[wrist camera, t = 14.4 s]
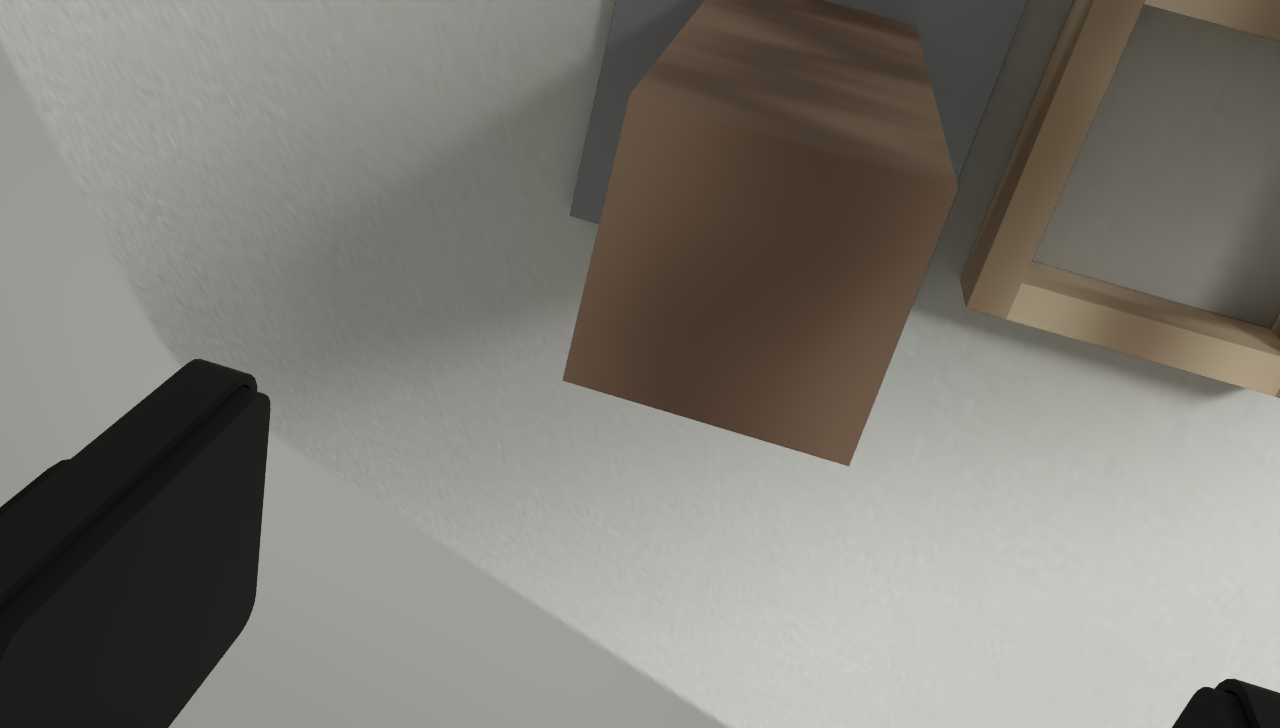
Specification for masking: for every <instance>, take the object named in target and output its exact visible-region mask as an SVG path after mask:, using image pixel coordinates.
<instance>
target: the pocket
mask: <svg viewBox="0 0 1280 728" xmlns="http://www.w3.org/2000/svg"><path fill="white" fill-rule="evenodd" d="M1144 4H1146V5H1149V6H1153V7H1157V8H1160V9H1164V10H1168V11H1171V12H1175V13H1179V14H1182V15H1186V16H1190V17H1194V18H1197V19H1201V20H1205V21H1208V22H1212V23H1216V24H1219V25H1223V26H1227V27H1230V28H1234V29H1238V30H1241V31H1245V32H1249V33H1252V34H1256V35H1260V36H1263V37H1267V38H1271V39H1275V40H1278V41H1280V0H1074V2H1073V4H1072V7H1071V9H1070V12H1069V14H1068V17H1067V19H1066V22H1065V24H1064V27H1063V29H1062V31H1061V34H1060V36H1059V39H1058V41H1057V44H1056V46H1055V49H1054V51H1053V54H1052V56H1051V58H1050V61H1049V63H1048V66H1047V68H1046V71H1045V73H1044V76H1043V78H1042V81H1041V83H1040V85H1039V88H1038V90H1037V93H1036V95H1035V98H1034V100H1033V103H1032V105H1031V108H1030V110H1029V112H1028V115H1027V117H1026V120H1025V122H1024V125H1023V127H1022V130H1021V132H1020V135H1019V137H1018V139H1017V142H1016V144H1015V147H1014V149H1013V152H1012V154H1011V157H1010V159H1009V162H1008V164H1007V166H1006V169H1005V171H1004V174H1003V176H1002V179H1001V181H1000V184H999V186H998V189H997V191H996V193H995V196H994V198H993V201H992V203H991V206H990V208H989V211H988V213H987V216H986V218H985V220H984V223H983V225H982V228H981V230H980V233H979V235H978V238H977V240H976V243H975V245H974V247H973V250H972V252H971V255H970V257H969V260H968V262H967V265H966V267H965V270H964V272H963V274H962V277H961V279H960V281H961V286H962V290H963V295H964V300H965V304H966V308H969V309H972V310H975V311H979V312H982V313H986V314H989V315H993V316H996V317H1000V318H1003V319H1007V320H1010V321H1014V322H1017V323H1021V324H1024V325H1028V326H1031V327H1035V328H1038V329H1042V330H1045V331H1049V332H1052V333H1056V334H1059V335H1063V336H1066V337H1070V338H1073V339H1077V340H1080V341H1084V342H1087V343H1090V344H1094V345H1097V346H1101V347H1104V348H1108V349H1111V350H1115V351H1118V352H1122V353H1125V354H1129V355H1132V356H1136V357H1139V358H1143V359H1146V360H1150V361H1153V362H1157V363H1160V364H1164V365H1167V366H1171V367H1174V368H1178V369H1181V370H1185V371H1188V372H1192V373H1195V374H1199V375H1202V376H1205V377H1209V378H1212V379H1216V380H1219V381H1223V382H1226V383H1230V384H1233V385H1237V386H1240V387H1244V388H1247V389H1251V390H1254V391H1258V392H1261V393H1265V394H1268V395H1272V396H1275V397H1279V398H1280V314H1279V316H1278V317H1277V319H1276V321H1275V323H1274V324H1273V326H1272V328H1271V329H1268V328H1265V327H1261V326H1258V325H1254V324H1251V323H1247V322H1244V321H1240V320H1237V319H1233V318H1230V317H1226V316H1223V315H1219V314H1216V313H1212V312H1208V311H1205V310H1201V309H1198V308H1194V307H1191V306H1187V305H1184V304H1180V303H1177V302H1173V301H1170V300H1166V299H1163V298H1159V297H1156V296H1152V295H1149V294H1145V293H1142V292H1138V291H1135V290H1131V289H1128V288H1124V287H1120V286H1117V285H1113V284H1110V283H1106V282H1103V281H1099V280H1096V279H1092V278H1089V277H1085V276H1082V275H1078V274H1075V273H1071V272H1068V271H1064V270H1061V269H1057V268H1054V267H1050V266H1047V265H1043V264H1040V263H1036V262H1032V259H1033V257H1034V254H1035V252H1036V250H1037V247H1038V245H1039V243H1040V241H1041V238H1042V236H1043V234H1044V231H1045V229H1046V227H1047V225H1048V222H1049V220H1050V218H1051V215H1052V213H1053V211H1054V209H1055V206H1056V204H1057V202H1058V199H1059V197H1060V195H1061V193H1062V190H1063V188H1064V186H1065V183H1066V181H1067V179H1068V177H1069V174H1070V172H1071V170H1072V167H1073V165H1074V163H1075V161H1076V158H1077V156H1078V154H1079V151H1080V149H1081V147H1082V145H1083V142H1084V140H1085V138H1086V135H1087V133H1088V131H1089V128H1090V126H1091V124H1092V122H1093V119H1094V117H1095V115H1096V112H1097V110H1098V108H1099V106H1100V103H1101V101H1102V99H1103V96H1104V94H1105V92H1106V90H1107V87H1108V85H1109V83H1110V80H1111V78H1112V76H1113V74H1114V71H1115V69H1116V67H1117V64H1118V62H1119V60H1120V58H1121V55H1122V53H1123V51H1124V48H1125V46H1126V44H1127V42H1128V39H1129V37H1130V35H1131V32H1132V30H1133V28H1134V26H1135V23H1136V21H1137V19H1138V16H1139V14H1140V12H1141V10H1142V7H1143V5H1144Z"/></svg>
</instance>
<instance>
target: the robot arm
mask: <svg viewBox="0 0 1280 728" xmlns="http://www.w3.org/2000/svg"><path fill="white" fill-rule="evenodd" d="M269 420H270V400H269V397H268V396H267V395H266V394H263V393H259V392H257V384H256V380H255V378H254V377H253V376H252V375H250V374H247V373H244V372H241V371H238V370H234V369H231V368H228V367H225V366H221V365H218V364H215V363H212V362H208V361H205V360H202V359H194V360H192V361H191V362H189V363H187V364H186V365H185V366H184V367H182V368H181V369H180V370H179V371H178V372H176V373H175V374H174V375H173V376H171V377H170V378H169V379H168V380H167V381H165V382H164V383H163V384H162V385H161V386H159V387H158V388H157V389H156V390H154V391H153V392H152V393H151V394H150V395H148V396H147V397H146V398H145V399H143V400H142V401H141V402H140V403H139V404H137V405H136V406H135V407H134V408H132V409H131V410H130V411H129V412H128V413H127V414H125V415H124V416H123V417H122V418H120V419H119V420H118V421H117V422H115V423H114V424H113V425H112V426H110V427H109V428H108V429H107V430H106V431H105V432H103V433H102V434H101V435H99V436H98V437H97V438H96V439H95V440H93V441H92V442H91V443H90V444H89V445H87V446H86V447H85V448H84V449H82V450H81V451H80V452H79V453H78V454H76V455H75V456H74V457H73V458H71V459H68V460H62V461H60V462H58V463H57V464H55V465H53V466H52V467H50V468H49V469H47V470H46V471H45V472H43V473H42V474H41V475H40V476H39V477H37V478H36V479H35V480H34V481H33V482H31V483H30V484H29V485H27V486H26V487H25V488H24V489H23V490H21V491H20V492H19V493H18V494H16V495H15V496H14V497H13V498H12V499H10V500H9V501H8V502H7V503H5V504H4V505H3V506H1V507H0V728H168V727H169V726H170V725H171V723H172V722H173V721H174V719H175V718H176V717H177V716H178V714H179V713H180V712H181V710H182V709H183V708H184V706H185V705H186V704H187V702H188V701H189V700H190V699H191V697H192V696H193V694H194V693H195V692H196V691H197V689H198V688H199V687H200V686H201V684H202V683H203V682H204V680H205V679H206V677H207V676H208V675H209V673H210V672H211V671H212V670H213V669H214V667H215V666H216V665H217V663H218V662H219V661H220V659H221V658H222V657H223V655H224V654H225V653H226V651H227V650H228V649H229V647H230V646H231V645H232V644H233V642H234V641H235V640H236V638H237V637H238V636H239V634H240V633H241V632H242V630H243V628H244V627H245V625H246V623H247V621H248V619H249V617H250V614H251V612H252V609H253V606H254V602H255V597H256V587H257V574H258V561H259V548H260V536H261V523H262V509H263V497H264V484H265V471H266V459H267V446H268V433H269ZM1172 728H1280V693H1278V692H1275V691H1272V690H1268V689H1265V688H1262V687H1259V686H1256V685H1252V684H1249V683H1246V682H1243V681H1239V680H1236V679H1226V680H1224V681H1223V682H1221V683H1219V684H1218V685H1217V687H1216V688H1215V689H1213V688H1210V687H1203V688H1201V689H1199V690H1198V691H1197V692H1196V693H1195V694H1194V695H1193V697H1192V698H1191V700H1190V701H1189V703H1188V704H1187V706H1186V707H1185V709H1184V710H1183V712H1182V713H1181V715H1180V716H1179V718H1178V719H1177V721H1176V722H1175V724H1174V725H1173V727H1172Z"/></svg>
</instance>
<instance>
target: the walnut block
mask: <svg viewBox="0 0 1280 728" xmlns="http://www.w3.org/2000/svg"><path fill="white" fill-rule="evenodd" d="M957 191H958V185H957V181H956V177H955V173H954V170H953V166H952V162H951V158H950V154H949V150H948V146H947V143H946V139H945V135H944V131H943V127H942V123H941V119H940V116H939V112H938V108H937V104H936V100H935V96H934V93H933V89H932V85H931V81H930V77H929V73H928V69H927V66H926V62H925V58H924V54H923V50H922V46H921V43H920V39H919V35H918V31H917V27H916V26H914V25H910V24H907V23H903V22H900V21H896V20H892V19H889V18H885V17H882V16H878V15H875V14H871V13H867V12H864V11H860V10H857V9H853V8H850V7H846V6H842V5H839V4H835V3H832V2H828V1H825V0H705V1H704V2H703V3H702V4H701V6H700V7H699V8H698V9H697V11H696V12H695V13H694V14H693V16H692V17H691V18H690V19H689V21H688V22H687V23H686V25H685V26H684V27H683V28H682V30H681V31H680V32H679V33H678V35H677V36H676V37H675V38H674V40H673V41H672V42H671V43H670V45H669V46H668V47H667V48H666V50H665V51H664V52H663V53H662V55H661V56H660V57H659V58H658V60H657V61H656V62H655V63H654V65H653V66H652V67H651V68H650V70H649V71H648V72H647V74H646V75H645V76H644V77H643V79H642V80H641V81H640V82H639V84H638V85H637V86H636V87H635V89H634V90H633V91H632V92H631V94H630V96H629V100H628V104H627V109H626V113H625V117H624V121H623V126H622V130H621V134H620V138H619V143H618V147H617V151H616V155H615V160H614V164H613V168H612V172H611V177H610V181H609V185H608V189H607V194H606V198H605V202H604V206H603V211H602V215H601V219H600V223H599V228H598V232H597V236H596V240H595V245H594V249H593V253H592V257H591V262H590V266H589V270H588V274H587V279H586V283H585V287H584V291H583V296H582V300H581V304H580V308H579V313H578V317H577V321H576V325H575V330H574V334H573V338H572V342H571V347H570V351H569V355H568V359H567V364H566V368H565V372H564V376H563V381H566V382H569V383H573V384H576V385H579V386H583V387H586V388H589V389H593V390H596V391H599V392H603V393H606V394H609V395H613V396H616V397H619V398H623V399H626V400H629V401H633V402H636V403H639V404H643V405H646V406H649V407H653V408H656V409H660V410H663V411H666V412H670V413H673V414H676V415H680V416H683V417H686V418H690V419H693V420H696V421H700V422H703V423H706V424H710V425H713V426H716V427H720V428H723V429H726V430H730V431H733V432H736V433H740V434H743V435H746V436H750V437H753V438H756V439H760V440H763V441H766V442H770V443H773V444H776V445H780V446H783V447H786V448H790V449H793V450H796V451H800V452H803V453H806V454H810V455H813V456H816V457H820V458H823V459H826V460H830V461H833V462H836V463H840V464H843V465H846V466H849V464H850V462H851V459H852V457H853V454H854V452H855V449H856V447H857V444H858V442H859V439H860V437H861V434H862V432H863V429H864V427H865V424H866V421H867V419H868V416H869V414H870V411H871V409H872V406H873V404H874V401H875V399H876V396H877V394H878V391H879V389H880V386H881V383H882V381H883V378H884V376H885V373H886V371H887V368H888V366H889V363H890V361H891V358H892V356H893V353H894V351H895V348H896V345H897V343H898V340H899V338H900V335H901V333H902V330H903V328H904V325H905V323H906V320H907V318H908V315H909V313H910V310H911V307H912V305H913V302H914V300H915V297H916V295H917V292H918V290H919V287H920V285H921V282H922V280H923V277H924V275H925V272H926V270H927V267H928V264H929V262H930V259H931V257H932V254H933V252H934V249H935V247H936V244H937V242H938V239H939V237H940V234H941V232H942V229H943V226H944V224H945V221H946V219H947V216H948V214H949V211H950V209H951V206H952V204H953V201H954V199H955V196H956V194H957Z"/></svg>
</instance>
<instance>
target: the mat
mask: <svg viewBox="0 0 1280 728" xmlns="http://www.w3.org/2000/svg"><path fill="white" fill-rule="evenodd" d="M704 1H705V0H616V3H615V8H614V13H613V17H612V22H611V27H610V31H609V36H608V40H607V45H606V50H605V54H604V59H603V64H602V68H601V73H600V78H599V82H598V87H597V91H596V96H595V101H594V105H593V110H592V115H591V119H590V124H589V129H588V133H587V138H586V142H585V147H584V152H583V156H582V161H581V166H580V170H579V175H578V180H577V184H576V189H575V193H574V198H573V203H572V207H571V212H570V216H573V217H576V218H580V219H583V220H587V221H590V222H594V223H597V224H599V223H600V219H601V215H602V211H603V206H604V202H605V198H606V194H607V189H608V185H609V181H610V177H611V172H612V168H613V164H614V160H615V155H616V151H617V147H618V143H619V138H620V134H621V130H622V126H623V121H624V117H625V113H626V109H627V104H628V100H629V96H630V94H631V92H632V91H633V90H634V89H635V87H636V86H637V85H638V84H639V82H640V81H641V80H642V79H643V77H644V76H645V75H646V74H647V72H648V71H649V70H650V68H651V67H652V66H653V65H654V63H655V62H656V61H657V60H658V58H659V57H660V56H661V55H662V53H663V52H664V51H665V50H666V48H667V47H668V46H669V45H670V43H671V42H672V41H673V40H674V38H675V37H676V36H677V35H678V33H679V32H680V31H681V30H682V28H683V27H684V26H685V25H686V23H687V22H688V21H689V19H690V18H691V17H692V16H693V14H694V13H695V12H696V11H697V9H698V8H699V7H700V6H701V4H702V3H703V2H704ZM825 1H828V2H832V3H835V4H839V5H842V6H846V7H850V8H853V9H857V10H860V11H864V12H867V13H871V14H875V15H878V16H882V17H885V18H889V19H892V20H896V21H900V22H903V23H907V24H910V25H914V26H916V27H917V31H918V35H919V39H920V43H921V46H922V50H923V54H924V58H925V62H926V66H927V69H928V73H929V77H930V81H931V85H932V89H933V93H934V96H935V100H936V104H937V108H938V112H939V116H940V119H941V123H942V127H943V131H944V135H945V139H946V143H947V146H948V150H949V154H950V158H951V162H952V166H953V170H954V173H955V177H956V181H957V180H958V178H959V175H960V173H961V170H962V168H963V165H964V162H965V160H966V157H967V155H968V152H969V149H970V147H971V144H972V142H973V139H974V137H975V134H976V131H977V129H978V126H979V124H980V121H981V119H982V116H983V113H984V111H985V108H986V106H987V103H988V100H989V98H990V95H991V93H992V90H993V88H994V85H995V82H996V80H997V77H998V75H999V72H1000V70H1001V67H1002V64H1003V62H1004V59H1005V57H1006V54H1007V51H1008V49H1009V46H1010V44H1011V41H1012V39H1013V36H1014V33H1015V31H1016V28H1017V26H1018V23H1019V21H1020V18H1021V15H1022V13H1023V10H1024V8H1025V5H1026V2H1027V0H825Z"/></svg>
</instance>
